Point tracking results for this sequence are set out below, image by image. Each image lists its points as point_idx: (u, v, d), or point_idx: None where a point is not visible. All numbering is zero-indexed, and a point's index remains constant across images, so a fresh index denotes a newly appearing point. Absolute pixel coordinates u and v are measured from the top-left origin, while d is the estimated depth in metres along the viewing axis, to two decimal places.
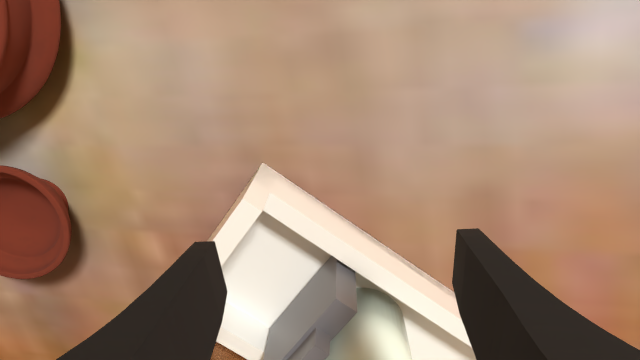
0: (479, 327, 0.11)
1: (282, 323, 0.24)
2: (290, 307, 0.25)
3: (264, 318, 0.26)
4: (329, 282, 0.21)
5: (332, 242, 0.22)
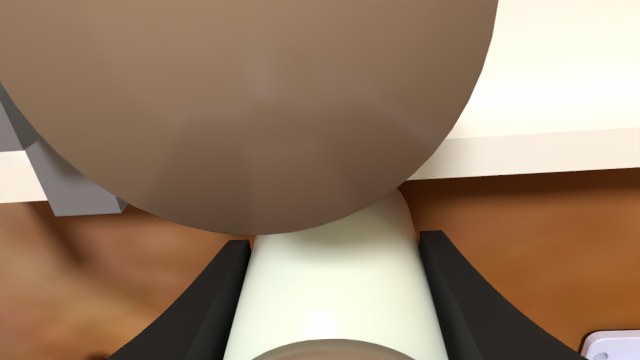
0: None
1: None
2: None
3: None
4: None
5: None
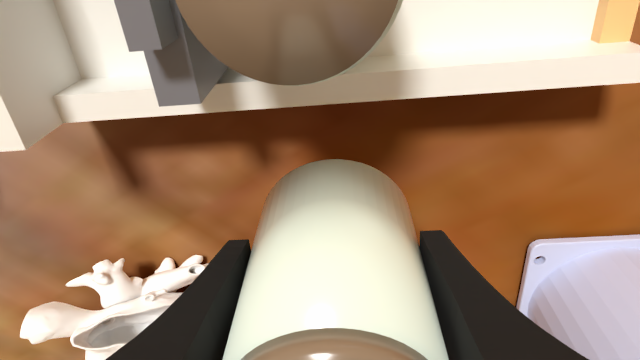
0: None
1: None
2: None
3: None
4: None
5: None
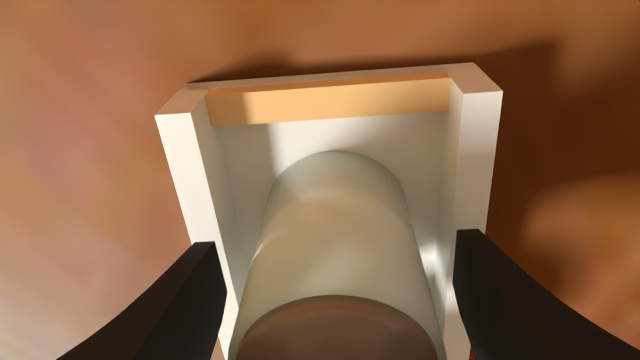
0: (480, 327, 0.11)
1: None
2: None
3: None
4: None
5: None
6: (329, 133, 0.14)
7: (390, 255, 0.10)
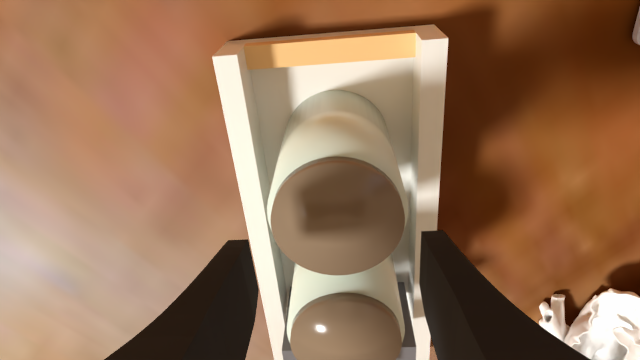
0: (440, 328, 0.11)
1: None
2: None
3: None
4: None
5: (276, 335, 0.25)
6: (331, 76, 0.20)
7: (372, 141, 0.16)
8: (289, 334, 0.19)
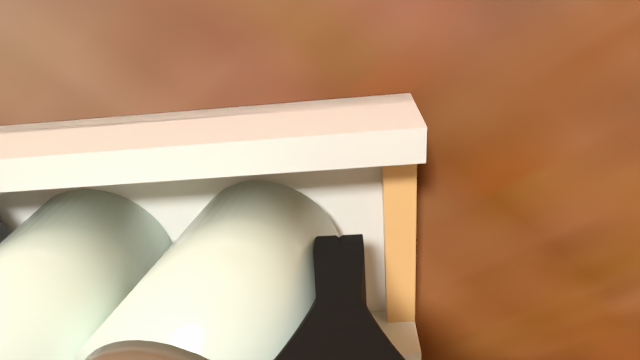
0: None
1: None
2: None
3: None
4: None
5: None
6: None
7: None
8: None
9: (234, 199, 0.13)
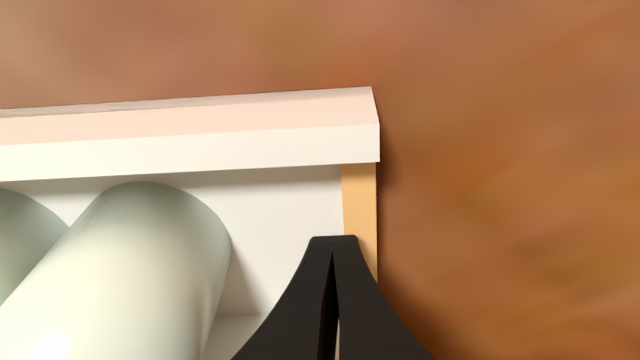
0: None
1: None
2: None
3: None
4: None
5: None
6: (322, 233, 0.14)
7: None
8: None
9: (121, 203, 0.12)
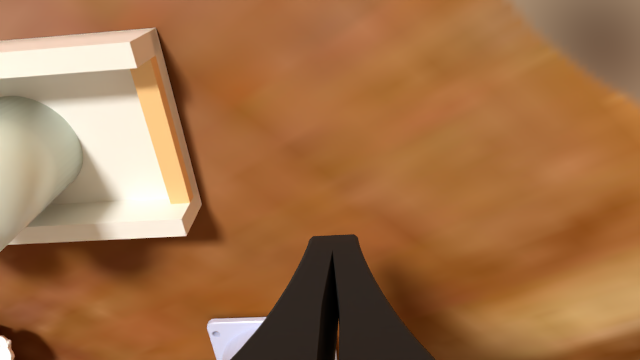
0: None
1: None
2: None
3: None
4: None
5: None
6: (140, 134, 0.21)
7: (18, 230, 0.17)
8: None
9: None
